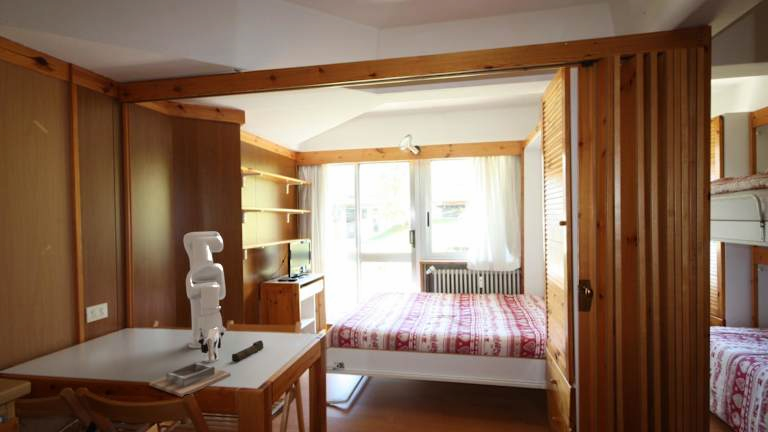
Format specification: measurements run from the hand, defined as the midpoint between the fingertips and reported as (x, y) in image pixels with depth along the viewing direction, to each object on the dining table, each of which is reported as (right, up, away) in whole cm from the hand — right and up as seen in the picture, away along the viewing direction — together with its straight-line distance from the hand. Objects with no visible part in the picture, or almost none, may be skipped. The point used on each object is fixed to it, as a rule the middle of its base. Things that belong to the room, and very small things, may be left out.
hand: (211, 349), depth 165 cm
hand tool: (+16, -5, +5) cm, 17 cm away
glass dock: (+3, -4, -22) cm, 23 cm away
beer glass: (0, -5, 0) cm, 5 cm away
